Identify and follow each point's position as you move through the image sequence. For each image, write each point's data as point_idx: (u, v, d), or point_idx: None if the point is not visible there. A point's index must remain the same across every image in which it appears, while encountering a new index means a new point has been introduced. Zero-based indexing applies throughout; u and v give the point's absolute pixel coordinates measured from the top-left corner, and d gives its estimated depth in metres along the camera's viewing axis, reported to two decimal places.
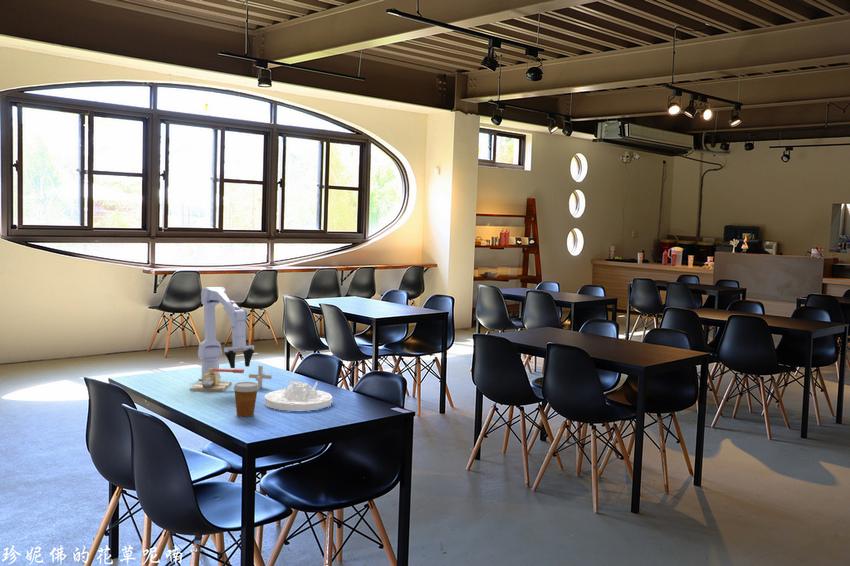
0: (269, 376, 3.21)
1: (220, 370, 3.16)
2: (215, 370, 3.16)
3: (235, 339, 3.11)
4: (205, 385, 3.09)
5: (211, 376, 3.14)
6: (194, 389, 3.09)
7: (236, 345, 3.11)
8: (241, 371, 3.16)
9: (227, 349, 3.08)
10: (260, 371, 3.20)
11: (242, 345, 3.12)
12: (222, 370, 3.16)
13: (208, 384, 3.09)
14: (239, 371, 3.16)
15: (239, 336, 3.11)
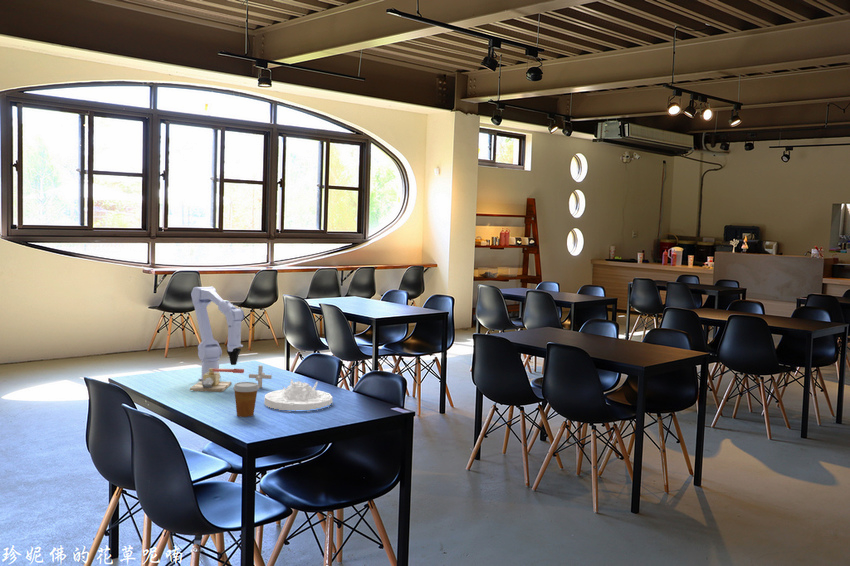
0: (269, 376, 3.21)
1: (220, 370, 3.16)
2: (215, 370, 3.16)
3: (235, 338, 3.21)
4: (205, 385, 3.09)
5: (211, 376, 3.14)
6: (194, 389, 3.09)
7: (235, 344, 3.21)
8: (241, 371, 3.16)
9: (232, 348, 3.17)
10: (260, 371, 3.20)
11: (240, 344, 3.23)
12: (222, 370, 3.16)
13: (208, 384, 3.09)
14: (239, 371, 3.16)
15: (238, 335, 3.22)
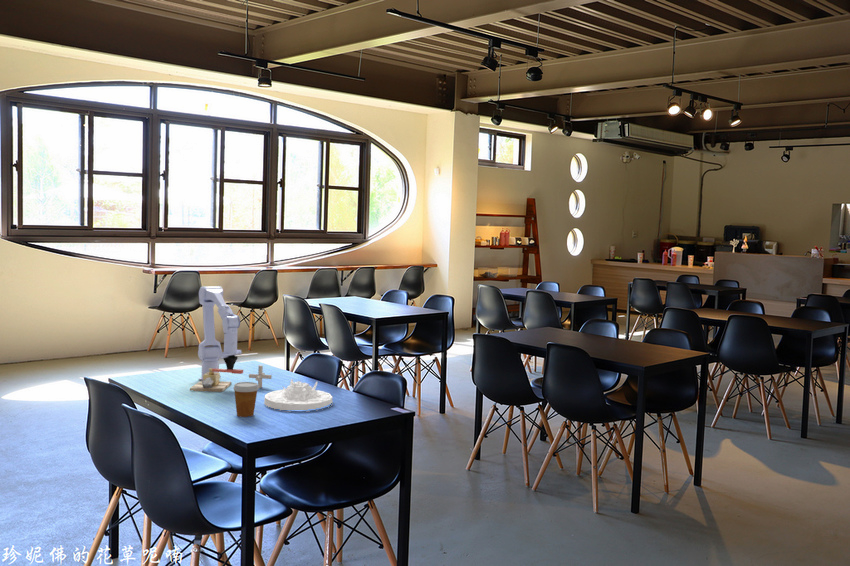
0: (269, 376, 3.21)
1: (219, 370, 3.15)
2: (215, 370, 3.16)
3: (229, 345, 3.14)
4: (205, 385, 3.09)
5: (211, 376, 3.14)
6: (194, 389, 3.09)
7: (229, 351, 3.14)
8: (240, 372, 3.14)
9: (223, 356, 3.11)
10: (260, 371, 3.20)
11: (235, 351, 3.16)
12: (221, 370, 3.15)
13: (208, 384, 3.09)
14: (238, 372, 3.14)
15: (233, 342, 3.15)
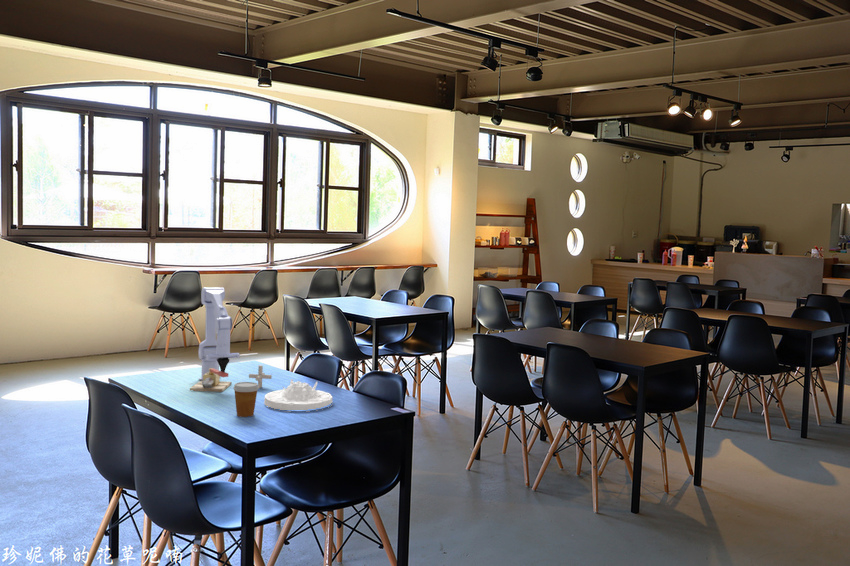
0: (269, 376, 3.21)
1: (213, 371, 3.13)
2: (211, 370, 3.15)
3: (218, 347, 3.09)
4: (205, 385, 3.09)
5: (211, 376, 3.14)
6: (194, 389, 3.09)
7: (218, 353, 3.09)
8: (222, 375, 3.06)
9: (208, 357, 3.07)
10: (260, 371, 3.20)
11: (224, 354, 3.09)
12: (214, 371, 3.12)
13: (208, 384, 3.09)
14: (221, 375, 3.06)
15: (222, 344, 3.08)
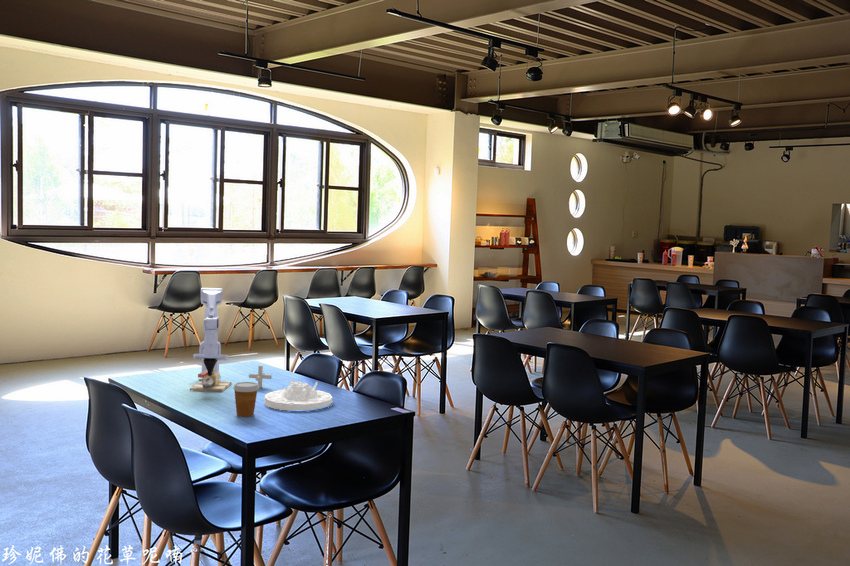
0: (269, 376, 3.21)
1: None
2: None
3: (204, 347, 3.07)
4: (205, 385, 3.09)
5: (211, 376, 3.14)
6: (194, 389, 3.09)
7: (204, 353, 3.07)
8: None
9: (194, 356, 3.07)
10: (260, 371, 3.20)
11: (208, 354, 3.06)
12: None
13: (208, 384, 3.09)
14: None
15: (205, 345, 3.06)
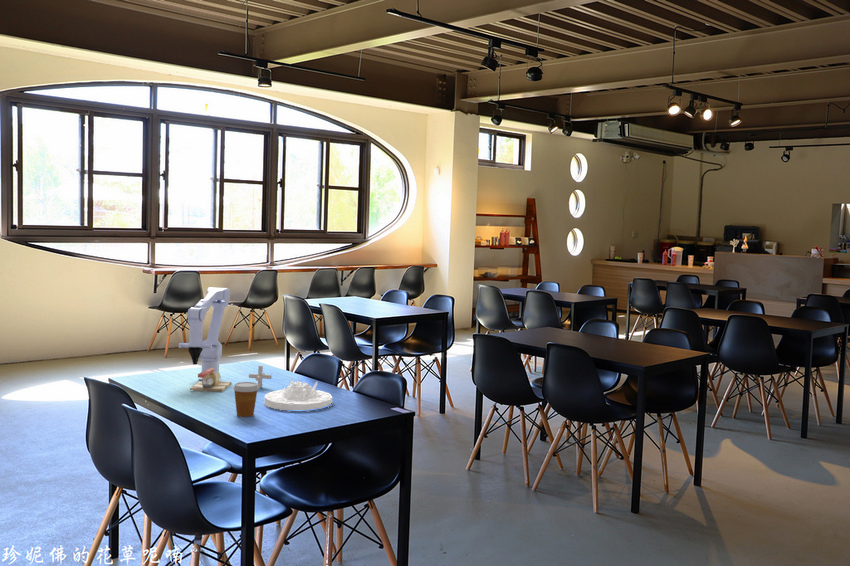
0: (269, 376, 3.21)
1: None
2: None
3: (189, 336, 3.17)
4: (205, 385, 3.09)
5: (211, 376, 3.14)
6: (194, 389, 3.09)
7: (189, 342, 3.17)
8: None
9: (179, 345, 3.17)
10: (260, 371, 3.20)
11: (193, 343, 3.15)
12: None
13: (208, 384, 3.09)
14: None
15: (191, 334, 3.15)
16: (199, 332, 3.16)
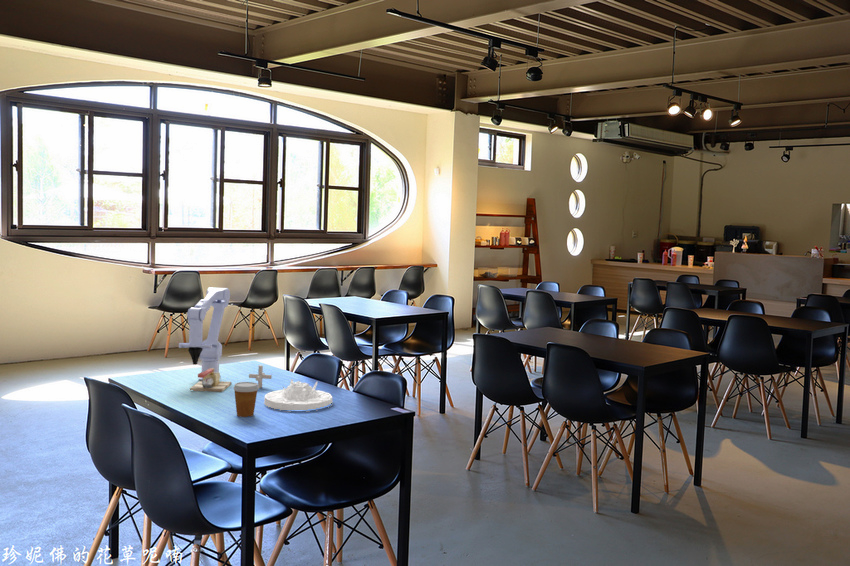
0: (269, 376, 3.21)
1: None
2: None
3: (189, 336, 3.17)
4: (205, 385, 3.09)
5: (211, 376, 3.14)
6: (194, 389, 3.09)
7: (189, 342, 3.17)
8: None
9: (179, 345, 3.17)
10: (260, 371, 3.20)
11: (193, 343, 3.15)
12: None
13: (208, 384, 3.09)
14: None
15: (191, 334, 3.15)
16: (199, 332, 3.16)
